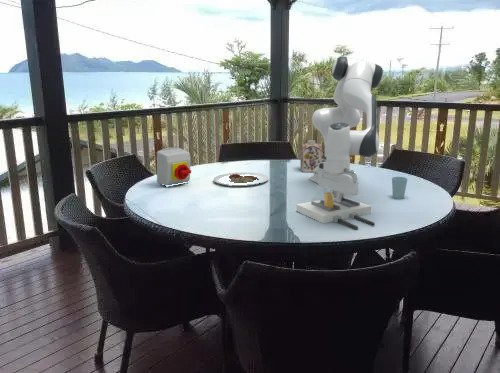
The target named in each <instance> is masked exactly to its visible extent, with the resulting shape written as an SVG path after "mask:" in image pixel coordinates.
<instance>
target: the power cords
mask: <svg viewBox="0 0 500 373" xmlns="http://www.w3.org/2000/svg"><path fill="white" fill-rule="evenodd" d="M348 219H351V220H357V221H359V222H362V223H364V224H367V225H370V226H372V227H373V226H375V225H376V223H375V222H374V221H372V220H368V219H366V218H363V217H362V216H358V213H356V212H352V213H350V216H349V218H348ZM332 222H334V223H335V224H336V223H339V224H341V225H344V226H346V227H349V228H351V229H352V230H358V229H359V227H358V225H356V224H353V223H351V222H349V221H346V220H345V219H342V217H341V216H339V215H338V216H333V221H332Z"/></svg>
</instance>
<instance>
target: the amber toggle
mask: <svg viewBox="0 0 500 373" xmlns="http://www.w3.org/2000/svg"><path fill="white" fill-rule="evenodd" d="M323 195H324V196H323V199H324V206H326V207H329V208H334V201H333V196H332V194H331V191H329V192H324V193H323Z"/></svg>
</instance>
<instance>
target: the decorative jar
mask: <svg viewBox="0 0 500 373" xmlns="http://www.w3.org/2000/svg"><path fill="white" fill-rule="evenodd" d="M322 156H323V147H322V144H321V143H318V142H316V140H307V142H305V143H301V145H300V170H301V172H302V171H303V172H302V173H314V169H315V168H316V167H317V166H318V163H321V162H322V160H323V159H321V158H323V157H322Z"/></svg>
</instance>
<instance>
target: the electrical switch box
mask: <svg viewBox="0 0 500 373" xmlns="http://www.w3.org/2000/svg"><path fill="white" fill-rule="evenodd" d="M191 173H192V170H191V153H190V152H189V151H187V150H185V149H183V148H180V147H167V148H162V149H160V150H158V151H157V152H156V182H157V184H159V183H161V184H164V185H172V184H178V183H183V182H188V181H189V182H190V179H191ZM161 184H160V185H161Z"/></svg>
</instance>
